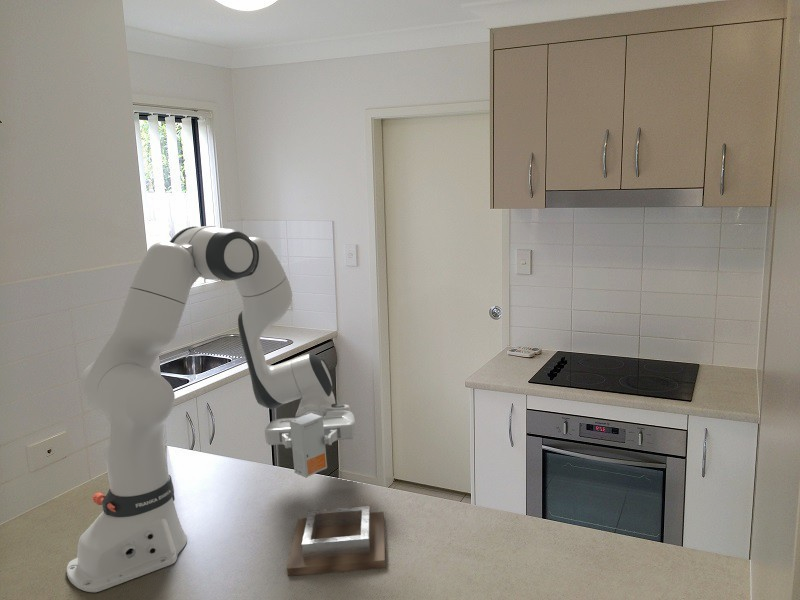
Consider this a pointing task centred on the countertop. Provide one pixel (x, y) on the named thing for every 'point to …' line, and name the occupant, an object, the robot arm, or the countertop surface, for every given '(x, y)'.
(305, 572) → the socket board
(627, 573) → the countertop surface
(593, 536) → the countertop surface
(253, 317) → the robot arm
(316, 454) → the skincare box
